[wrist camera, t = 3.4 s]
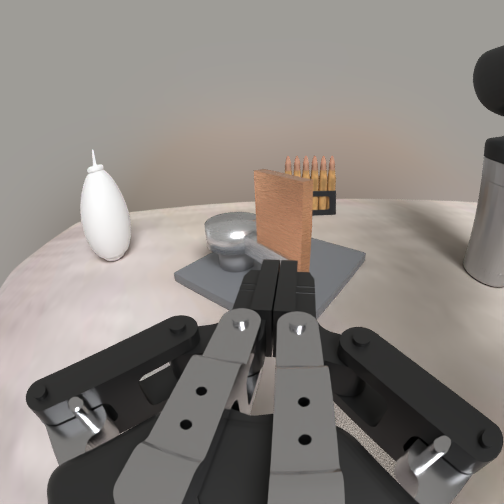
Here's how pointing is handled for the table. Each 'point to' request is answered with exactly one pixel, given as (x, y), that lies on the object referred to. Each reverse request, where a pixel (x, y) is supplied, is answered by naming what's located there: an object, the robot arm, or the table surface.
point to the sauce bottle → (104, 214)
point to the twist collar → (268, 222)
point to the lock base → (236, 266)
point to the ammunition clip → (318, 183)
